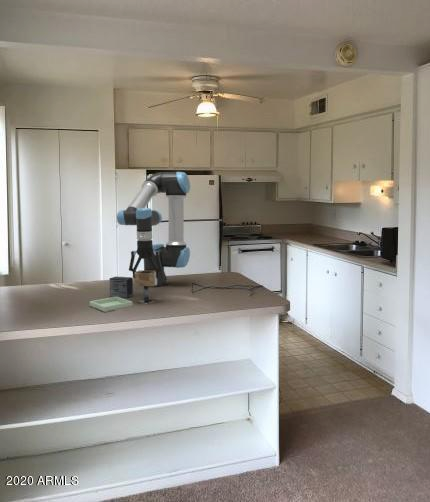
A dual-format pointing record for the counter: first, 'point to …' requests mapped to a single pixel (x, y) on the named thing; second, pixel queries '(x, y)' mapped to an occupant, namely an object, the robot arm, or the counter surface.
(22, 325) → the counter surface
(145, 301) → the dark grey knobbed stand
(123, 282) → the small box
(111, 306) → the tray
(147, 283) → the collar
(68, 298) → the counter surface
